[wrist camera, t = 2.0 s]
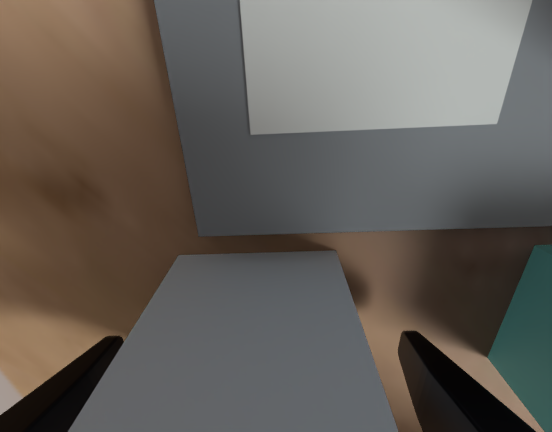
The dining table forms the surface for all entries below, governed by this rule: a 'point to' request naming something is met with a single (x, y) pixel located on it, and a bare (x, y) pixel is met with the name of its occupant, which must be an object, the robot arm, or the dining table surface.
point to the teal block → (529, 338)
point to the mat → (362, 113)
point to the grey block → (244, 353)
